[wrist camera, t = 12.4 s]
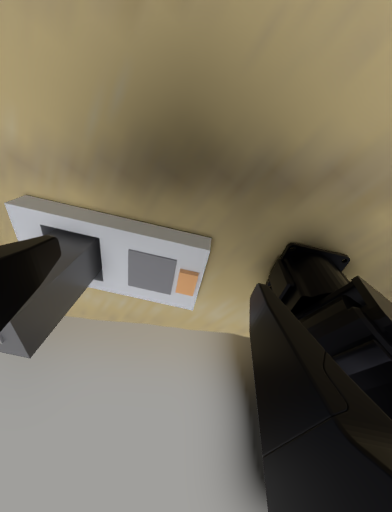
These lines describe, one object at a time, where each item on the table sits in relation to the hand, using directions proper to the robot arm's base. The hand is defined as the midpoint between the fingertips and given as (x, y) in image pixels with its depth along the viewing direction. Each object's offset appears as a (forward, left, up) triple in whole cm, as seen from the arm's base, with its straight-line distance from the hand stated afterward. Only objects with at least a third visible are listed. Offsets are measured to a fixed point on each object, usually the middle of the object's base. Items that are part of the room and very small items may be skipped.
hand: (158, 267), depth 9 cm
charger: (+11, +9, -12) cm, 18 cm away
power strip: (+7, +9, -12) cm, 17 cm away
